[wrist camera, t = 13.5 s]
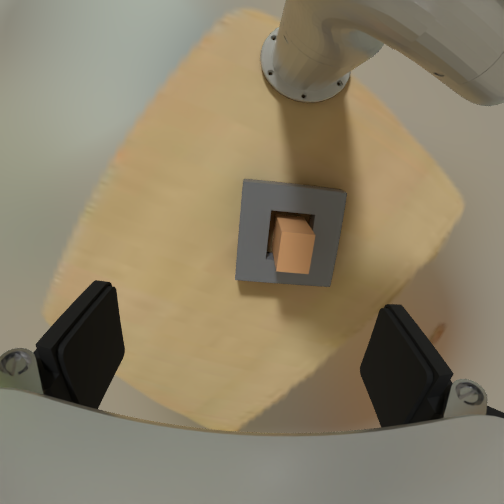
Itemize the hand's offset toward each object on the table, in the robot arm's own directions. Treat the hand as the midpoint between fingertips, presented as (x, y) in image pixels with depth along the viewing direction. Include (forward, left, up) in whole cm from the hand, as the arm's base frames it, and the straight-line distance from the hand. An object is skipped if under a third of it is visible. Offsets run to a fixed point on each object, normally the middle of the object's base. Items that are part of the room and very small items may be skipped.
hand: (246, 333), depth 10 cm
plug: (+6, +6, -34) cm, 35 cm away
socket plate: (+6, +6, -34) cm, 35 cm away
